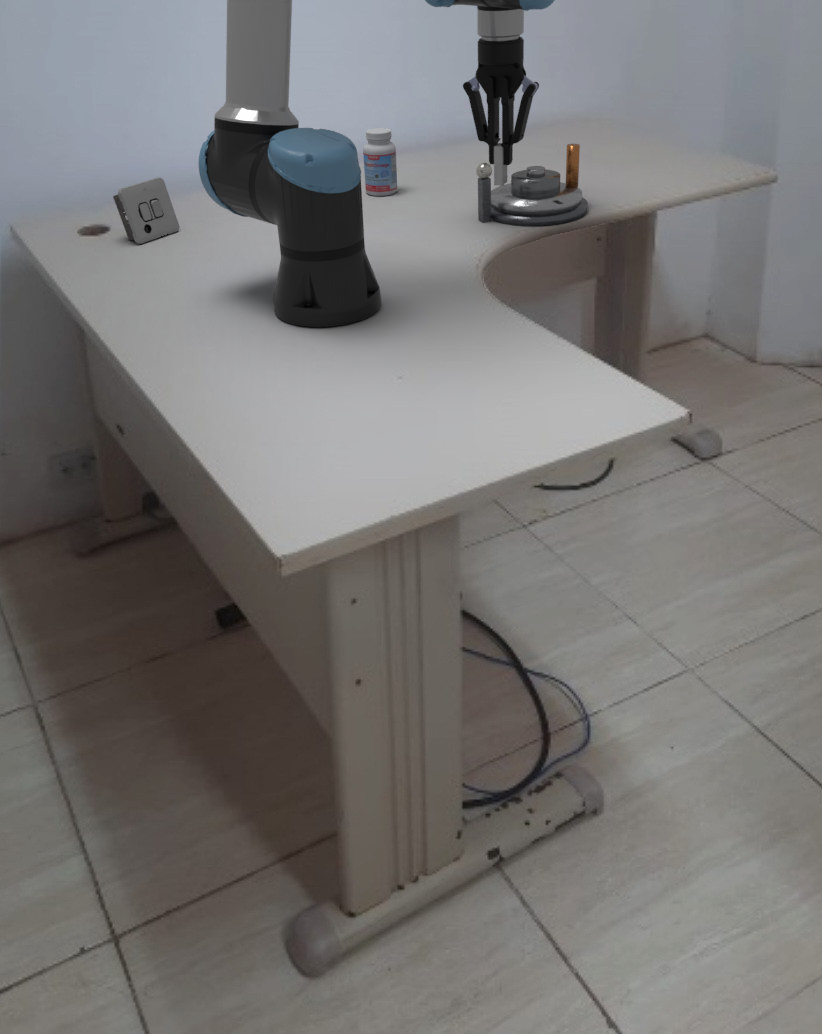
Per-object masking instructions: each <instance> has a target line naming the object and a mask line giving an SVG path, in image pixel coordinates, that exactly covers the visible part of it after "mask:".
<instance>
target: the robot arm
mask: <svg viewBox="0 0 822 1034" xmlns="http://www.w3.org/2000/svg"><path fill="white" fill-rule="evenodd" d="M424 1H425V2H426V3H427V4H428V5H429V6H431V7H435V8H442V7H444V8H451V6H472V7H473V6H476V9H477V14H476V15H477V16H476V17H477V19H476V20H477V24H476V25H477V29H476V30H477V35H478V36H479V37H480V38H479V39H478V41H477V64H478V65H477V68H476V70H475V76H474V77H472V78H471V79H469V80H467V81H465V82H464V83H463V84H462V88H463V90H464V92H465V94H466V95H467V97H468V100H469V105H470V109H471V114H472V117H473V123H474V126H475V131H476V135H477V139H478V141H479V142H484V143H486V144H487V145H488V162H489V163H488V164H489V165H493V186H498V187H499V186H502V185H506V184H507V182H508V166H510V165H511V164H512V163H513V156H514V155H513V145H514V144H519V142H521V141H522V140H523V139H524V136H525V132H526V129H527V124H528V120H529V116H530V111H531V108H532V107H531V106H532V102H533V98H534V95H535V94H536V92H537V91H538V89H539V88H540V84H539V82H538V81H532V80H531V79H530V78H529V77H527V71H526V69H525V68H524V59H525V58H524V55H525V53H524V51H525V49H524V47H525V45H524V44H525V42H524V41H525V40H524V38H523V37H522V36H521V35H523V33H524V31H525V30H524V29H525V27H524V26H525V23H524V22H525V11H526V12H528V11H531V10H533V11H534V10H544V9H547V8H549V7H550V6H551V5H552V4H553V3H554V2H555V0H424ZM292 11H293V0H226V45H225V46H226V54H225V59H226V61H225V62H226V63H225V64H226V65H225V102H224V104H223V106H222V107H220V108H219V109H218V110H217V111H216V112H215V113H214V123H213V124H214V130H212V131H211V132H210V133H209V134H208V135H207V139H206V140H205V141H203V142H202V145H201V148H200V150H199V154H198V173H199V178H200V180H201V184H202V187H203V188H204V190H205V192H206V193H207V195H208V197H209V198H211V200H212V201H213V202H215V203H216V204H217V205H219V206H220V207H222V208H223V209H226V210H228V211H229V212H231V213H232V214H234V215H238V216H240V217H244V218H250V219H251V218H252V219H255V220H257V221H261V222H265V223H268V224H271V225H275V226H277V233H278V243H279V250H280V251H279V252H280V261H279V266H278V267H279V268H278V272H277V276H276V279H275V280H276V281H275V286H274V291H273V295H272V296H273V297H272V301H273V308H274V314H275V315H276V317H277V318H279V320H281V321H283V322H285V323H288V324H291V325H295V326H301V327H309V328H310V327H312V328H313V327H314V328H316V327H318V328H321V327H322V328H324V327H337V326H343V325H349V324H353V323H356V322H360V321H362V320H365V319H367V318H369V317H371V316H373V315H374V314H376V313H377V312H378V311H379V310H380V308H381V306H382V295H381V294H382V293H381V288H380V285H379V282H378V280H377V277H376V275H375V272H374V270H373V267H372V265H371V262H370V260H369V257H368V255H367V252H366V245H365V232H364V231H365V229H364V227H365V226H364V211H363V196H362V191H363V190H362V176H361V175H362V170H361V166H360V162H359V154H358V150H357V147H356V145H355V143H354V142H353V141H352V140H351V138H349V137H348V136H346V135H345V134H342V133H340V132H337V131H335V130H330V129H325V128H318V129H317V128H312V127H299V124H300V123H299V122H300V121H299V119H297V117H296V116H295V115H294V114H293V113H294V112H292V111H291V110H290V107H289V101H290V100H289V97H290V96H289V95H290V73H291V70H290V68H291V64H290V63H291V46H292V45H291V44H292V43H291V38H292V13H293V12H292ZM521 85H522V88H521V92H522V93H523V94H522V96H521V100H520V103H519V108H518V113H517V115H516V121H515V120H514V117H515V115H514V113H515V110H514V108H515V106H514V104H515V103H514V102H515V97H516V95H515V94H516V93H517V92H518V90H519V89H520V87H521ZM480 87H481V88H482V90H483V91H484V93H485V94H486V104H487V118H486V113H485V108H484V104H483V99H482V95H481V91H480ZM500 103H501V126H502V127H501V133H502V134H501V138H500ZM514 121H515V125H514ZM500 141H501V142H500Z"/></svg>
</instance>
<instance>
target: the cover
mask: <svg viewBox="0 0 822 1034" xmlns="http://www.w3.org/2000/svg"><path fill="white" fill-rule="evenodd" d="M510 176H511V177H510V179H511V181H510V183H511V195H512V196H514V197H516V198H520V199H528V200H540V199H548V198H552V197H555V196H557V195H559V194H560V182H561V174H560V172H558V171H556V170H552V169H546V166H542V165H531V166H527V167H526V169H524V170H523V169H522V170H518V171H516V172H513V173H512V174H511V175H510Z"/></svg>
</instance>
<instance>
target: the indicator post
mask: <svg viewBox="0 0 822 1034" xmlns="http://www.w3.org/2000/svg"><path fill="white" fill-rule="evenodd" d="M492 173H493V168H492V166H491V164H490V163H487V162H481V163H480V164H478V165H477V168H476V176H477V213H478V214H477V215H478V216H477V217H478V218H477V219H478V220H479V222H480V223H489V222H491V221H492V220H491V191H492V178H491V176H492ZM488 221H489V222H488Z"/></svg>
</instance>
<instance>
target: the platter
mask: <svg viewBox="0 0 822 1034" xmlns="http://www.w3.org/2000/svg"><path fill="white" fill-rule="evenodd" d="M580 147H581V146H580V144H579V143H568V144H566V157H565V158H566V160H565V161H566V162H565V163H566V164H565V182H562V181H560V194H559V195H557V196H555V197H552V198H548V199H540V200H528V199H520V198H516V197H514V196H512V195H511V182H510V183H505V184H504V185H502V186H499V185H498V186H497V187H495V188H493V189H491V207H492V208H494V209H495V210H498V211H501V212H504V213H509V214H516V215H550V214H557V213H562V212H566V211H570V210H573V209H575V208H577V207H578V206H580V205H581V203H582V197H583V191H582V189H581V188H579V177H580V175H579V174H580V172H579V171H580V170H579V169H580V152H581V151H580Z"/></svg>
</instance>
